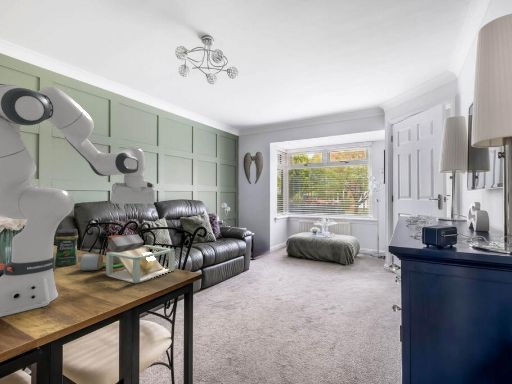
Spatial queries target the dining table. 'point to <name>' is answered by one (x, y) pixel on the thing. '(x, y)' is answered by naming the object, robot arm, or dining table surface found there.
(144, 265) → the block
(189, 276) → the dining table surface
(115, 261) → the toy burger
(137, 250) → the trapdoor plate
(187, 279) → the dining table surface
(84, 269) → the ceramic mug
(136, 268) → the frame
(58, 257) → the coffee jar
